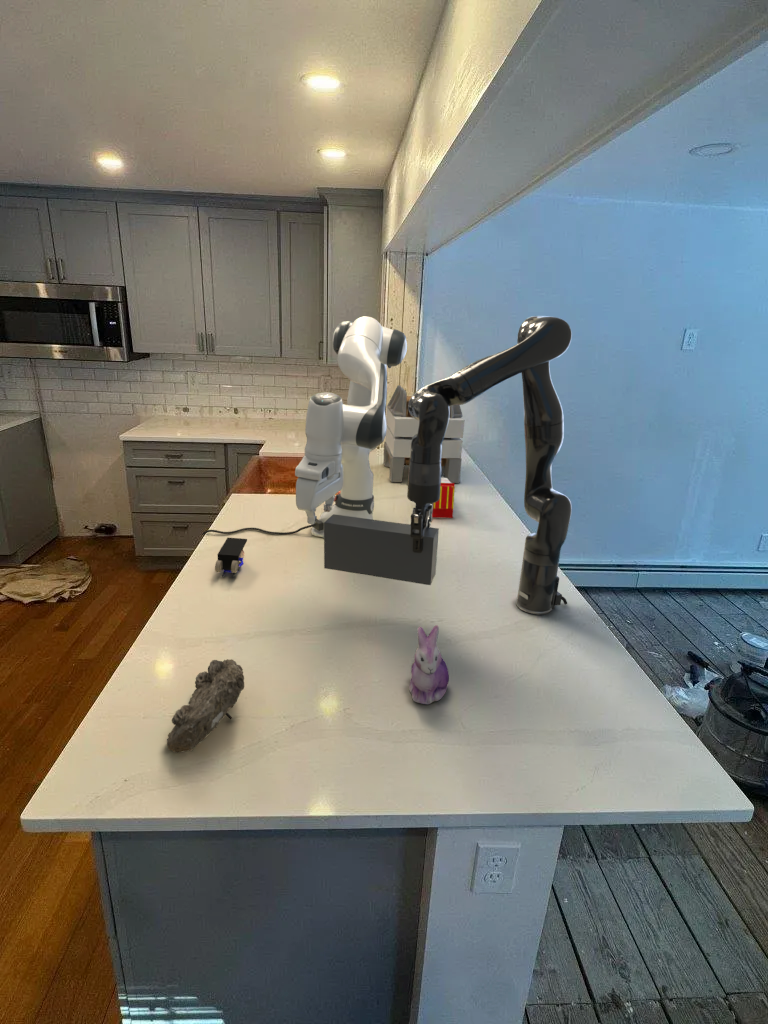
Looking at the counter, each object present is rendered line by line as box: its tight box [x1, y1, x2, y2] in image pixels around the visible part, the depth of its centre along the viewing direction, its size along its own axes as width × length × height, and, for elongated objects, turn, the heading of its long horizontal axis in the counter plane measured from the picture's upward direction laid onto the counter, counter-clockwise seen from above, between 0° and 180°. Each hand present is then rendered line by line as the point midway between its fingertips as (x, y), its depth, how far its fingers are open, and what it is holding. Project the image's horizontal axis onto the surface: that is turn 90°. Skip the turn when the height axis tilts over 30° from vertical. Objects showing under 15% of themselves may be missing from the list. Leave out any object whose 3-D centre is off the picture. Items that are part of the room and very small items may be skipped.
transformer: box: [383, 384, 465, 484], centre depth 268 cm, size 34×33×41 cm
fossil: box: [166, 658, 245, 754], centre depth 106 cm, size 22×10×15 cm
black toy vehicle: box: [214, 537, 248, 578], centre depth 166 cm, size 7×8×15 cm
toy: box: [432, 477, 456, 519], centre depth 228 cm, size 12×13×30 cm
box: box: [323, 514, 440, 586], centre depth 138 cm, size 27×6×12 cm, turn 74°
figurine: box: [408, 624, 450, 705], centre depth 115 cm, size 9×10×15 cm
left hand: (320, 516), depth 140 cm, fingers open, 8 cm apart
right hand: (420, 546), depth 135 cm, fingers closed on box, 6 cm apart
